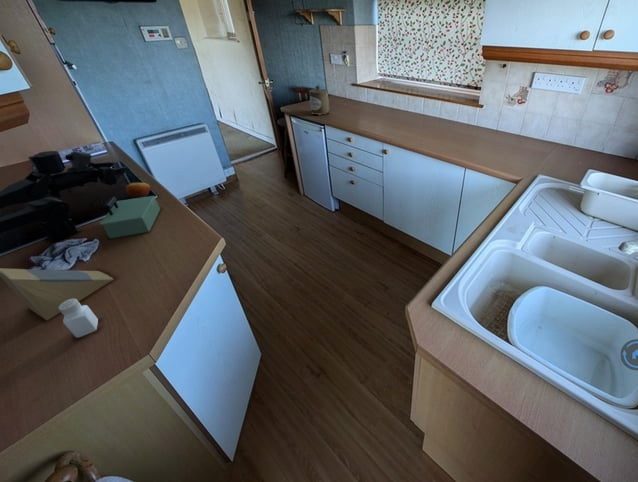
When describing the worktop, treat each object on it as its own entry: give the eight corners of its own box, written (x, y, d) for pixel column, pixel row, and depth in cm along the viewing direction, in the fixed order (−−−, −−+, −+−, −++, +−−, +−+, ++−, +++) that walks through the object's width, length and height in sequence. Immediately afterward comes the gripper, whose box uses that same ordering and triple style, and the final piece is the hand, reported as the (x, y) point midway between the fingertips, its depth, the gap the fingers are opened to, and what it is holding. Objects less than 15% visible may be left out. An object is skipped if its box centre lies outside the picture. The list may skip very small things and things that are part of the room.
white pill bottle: (97, 331, 72) (77, 305, 67) (76, 339, 70) (53, 314, 65) (99, 319, 75) (80, 294, 70) (78, 327, 73) (57, 302, 68)
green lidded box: (110, 238, 102) (102, 225, 99) (125, 214, 115) (119, 202, 112) (149, 231, 106) (142, 218, 103) (160, 209, 118) (154, 197, 115)
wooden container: (307, 113, 241) (304, 85, 230) (322, 109, 251) (319, 83, 240) (319, 116, 233) (316, 88, 222) (333, 113, 243) (331, 85, 231)
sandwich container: (115, 279, 86) (89, 240, 79) (47, 321, 74) (9, 279, 67) (98, 270, 89) (72, 231, 82) (30, 309, 77) (-8, 268, 70)
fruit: (122, 202, 120) (120, 182, 119) (134, 201, 127) (131, 183, 127) (145, 199, 121) (142, 180, 121) (155, 199, 129) (153, 181, 129)
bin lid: (100, 225, 99) (92, 213, 96) (117, 202, 111) (111, 191, 109) (142, 218, 103) (136, 206, 100) (154, 196, 115) (149, 185, 113)
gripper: (76, 162, 96) (129, 149, 109) (45, 152, 102) (98, 142, 115) (89, 192, 101) (138, 177, 114) (58, 182, 106) (108, 168, 120)
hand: (120, 165), depth 115 cm, fingers open, 9 cm apart
